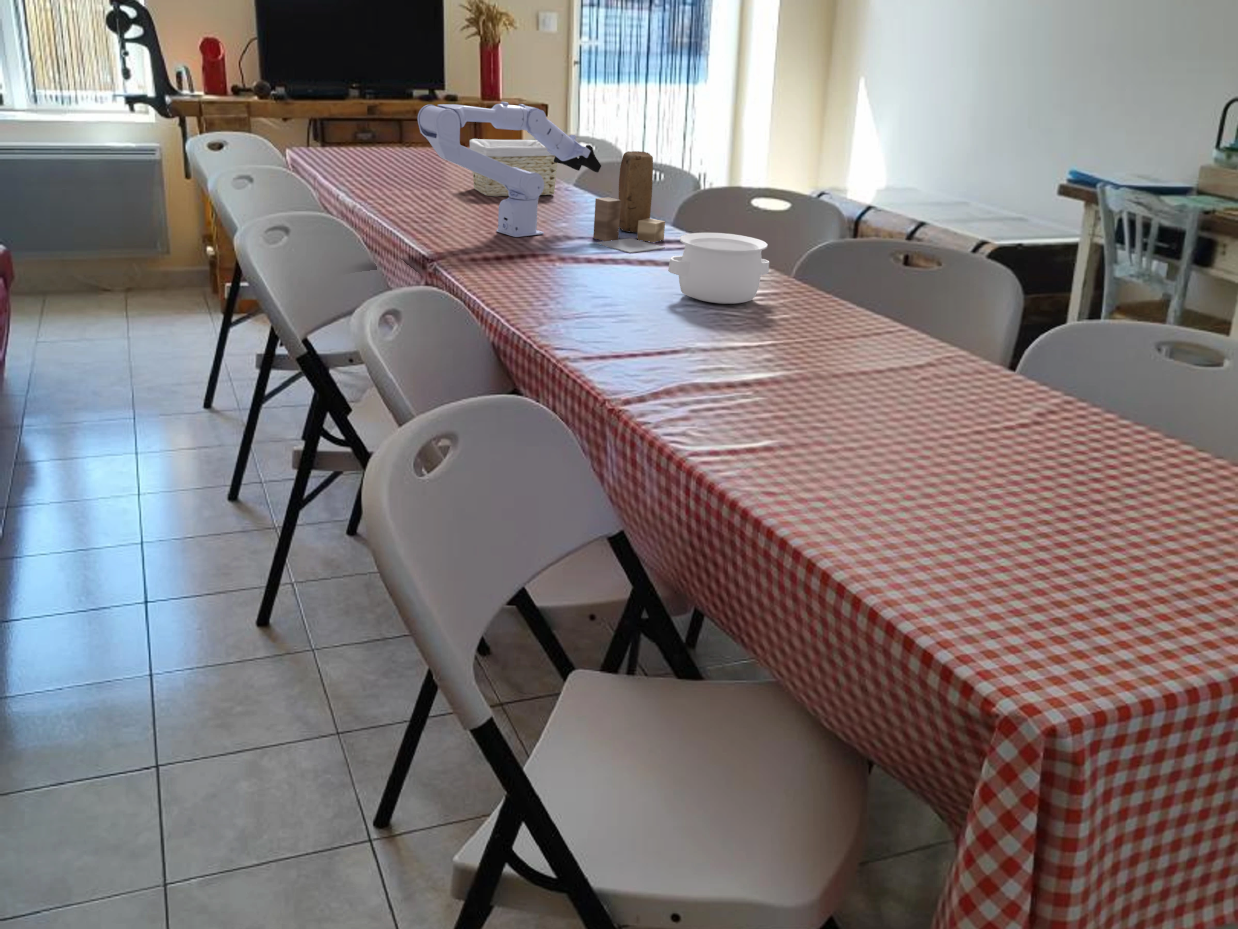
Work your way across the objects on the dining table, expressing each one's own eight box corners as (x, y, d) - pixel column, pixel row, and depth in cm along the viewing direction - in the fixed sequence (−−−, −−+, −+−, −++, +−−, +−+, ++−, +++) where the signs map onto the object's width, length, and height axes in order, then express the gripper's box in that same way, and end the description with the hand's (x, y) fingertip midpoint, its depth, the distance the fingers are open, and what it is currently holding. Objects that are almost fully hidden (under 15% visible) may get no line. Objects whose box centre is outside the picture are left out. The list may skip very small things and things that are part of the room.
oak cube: (653, 243, 290) (655, 223, 288) (636, 240, 292) (638, 220, 290) (663, 240, 294) (665, 221, 292) (646, 237, 296) (648, 218, 294)
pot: (682, 310, 230) (687, 250, 225) (654, 289, 245) (659, 232, 240) (782, 309, 236) (789, 250, 232) (749, 288, 251) (755, 232, 247)
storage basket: (482, 197, 334) (483, 145, 329) (466, 187, 348) (467, 137, 342) (559, 197, 344) (561, 146, 338) (540, 187, 357) (542, 138, 352)
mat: (629, 253, 276) (629, 251, 276) (596, 243, 284) (596, 242, 284) (664, 248, 284) (664, 247, 284) (631, 239, 292) (631, 238, 292)
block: (650, 234, 300) (656, 155, 292) (622, 233, 298) (628, 154, 291) (640, 225, 310) (646, 149, 302) (613, 225, 308) (618, 148, 300)
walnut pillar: (605, 241, 287) (607, 201, 283) (593, 238, 290) (595, 198, 286) (618, 240, 290) (621, 200, 286) (606, 236, 293) (608, 197, 289)
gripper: (579, 126, 282) (614, 155, 291) (543, 124, 292) (578, 152, 301) (567, 151, 281) (602, 180, 291) (531, 148, 291) (566, 176, 301)
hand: (589, 167), depth 296 cm, fingers open, 7 cm apart
